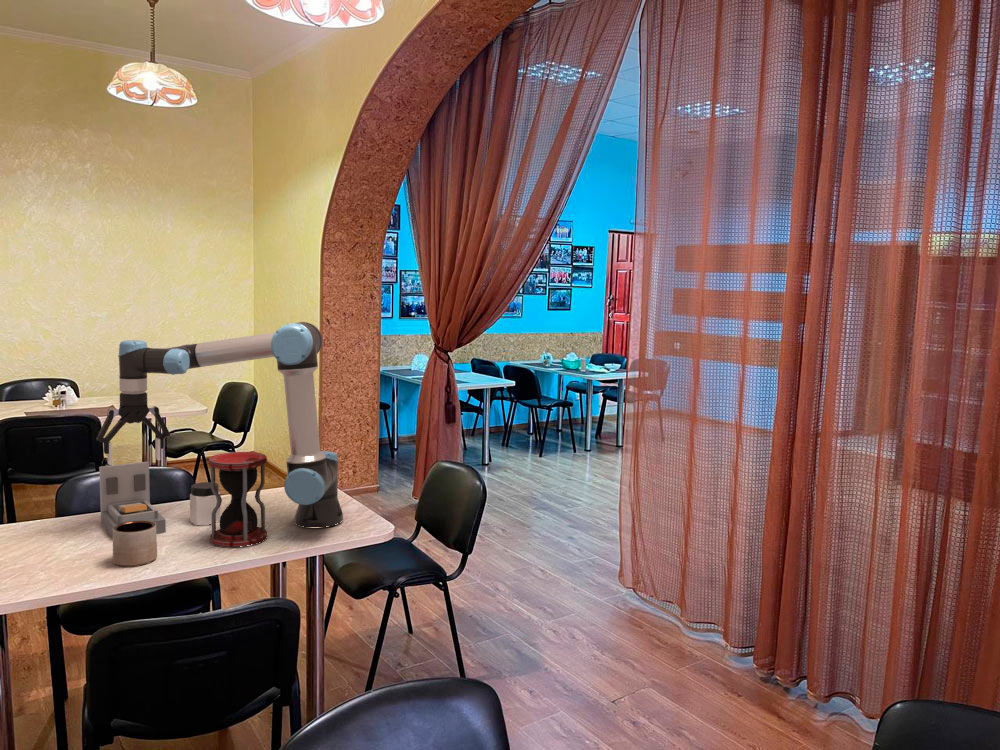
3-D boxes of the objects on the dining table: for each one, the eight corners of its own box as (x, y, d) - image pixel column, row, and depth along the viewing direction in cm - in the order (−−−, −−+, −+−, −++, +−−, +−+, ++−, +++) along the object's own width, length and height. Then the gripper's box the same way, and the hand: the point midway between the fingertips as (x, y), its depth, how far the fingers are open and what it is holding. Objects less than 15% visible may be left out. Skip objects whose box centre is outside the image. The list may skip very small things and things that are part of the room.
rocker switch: (147, 510, 232) (147, 504, 232) (124, 513, 228) (124, 507, 228) (139, 508, 240) (139, 502, 240) (117, 511, 236) (117, 505, 236)
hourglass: (217, 551, 216) (216, 465, 213) (204, 535, 229) (203, 454, 226) (274, 542, 225) (273, 459, 222) (258, 527, 238) (257, 449, 235)
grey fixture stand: (165, 532, 231) (164, 474, 229) (115, 540, 222) (113, 480, 220) (148, 515, 247) (147, 461, 245) (101, 523, 238) (99, 466, 236)
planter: (107, 559, 207) (106, 525, 206) (148, 550, 215) (147, 517, 214) (121, 570, 200) (120, 535, 199) (163, 561, 207) (162, 527, 206)
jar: (186, 521, 242) (185, 484, 241) (211, 516, 248) (210, 480, 247) (199, 528, 236) (198, 490, 235) (224, 522, 242) (223, 485, 241)
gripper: (173, 388, 238) (174, 455, 241) (84, 392, 223) (86, 463, 225) (180, 391, 232) (180, 459, 235) (89, 395, 217) (90, 468, 220)
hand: (134, 461), depth 230 cm, fingers open, 13 cm apart
